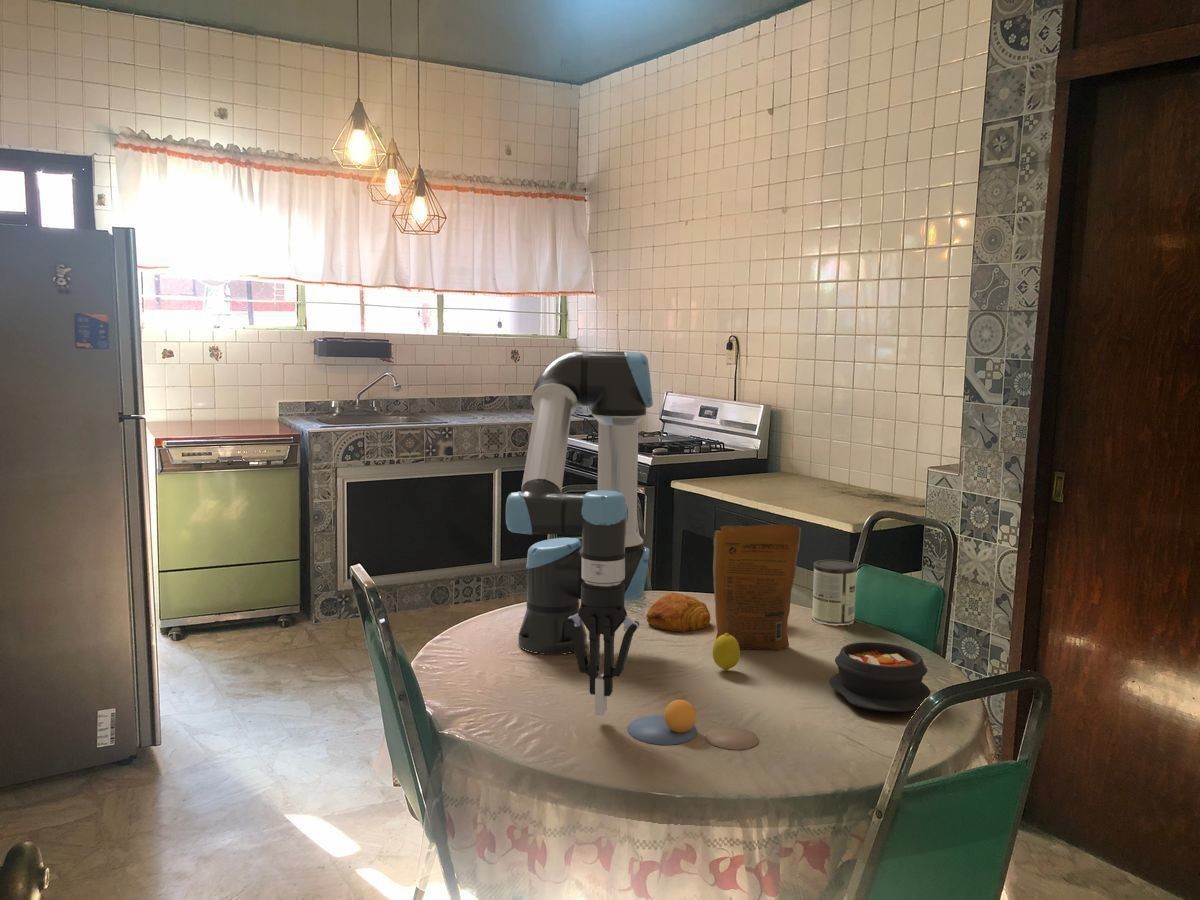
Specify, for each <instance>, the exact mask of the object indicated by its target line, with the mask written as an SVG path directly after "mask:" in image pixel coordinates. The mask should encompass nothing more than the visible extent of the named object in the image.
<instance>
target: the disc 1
mask: <svg viewBox="0 0 1200 900" xmlns="http://www.w3.org/2000/svg"><path fill="white" fill-rule="evenodd" d="M627 732H628V734H629V736H631V737H632V736H633V737H632V738H633V739H635V738H636V740H637V739H638V741H640V742H643V743H647V744H650V743H652V745H658V744H659V745H660V746H670V745H671V746H672V745H673V746H674V745H679V744H684V743H687V742H690V741H691V740H694V738H696V737H697V734H698V728H697V727H696V725H694V726H693V727H692V728H691V729H690V730H689V731H687V732H684V733H677V732H674V731H672V730H671V729H670V728H669V727H668V726H667V725H666V723H665V719H664V714H663V715H660V714H659V715H658V714H657V715H647V716H646V715H645V716H642V717H638V718H636V719H634V720H631V721H630V722H629V723H628V725H627Z"/></svg>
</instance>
